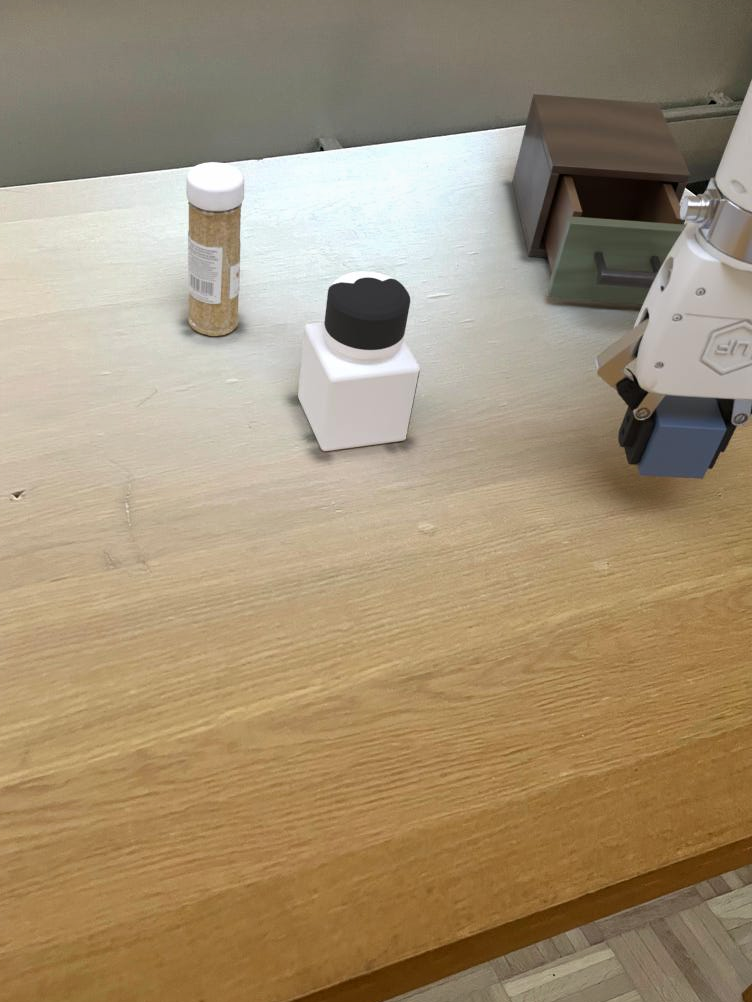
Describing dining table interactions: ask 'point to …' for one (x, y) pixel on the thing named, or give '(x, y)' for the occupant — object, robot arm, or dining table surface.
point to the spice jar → (214, 246)
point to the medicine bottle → (359, 364)
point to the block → (683, 438)
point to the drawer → (609, 236)
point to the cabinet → (589, 152)
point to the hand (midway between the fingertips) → (666, 452)
